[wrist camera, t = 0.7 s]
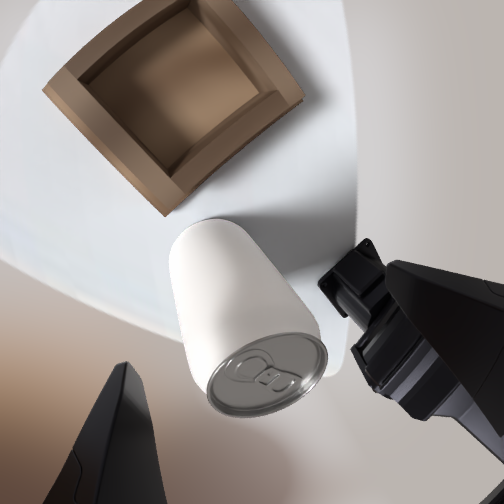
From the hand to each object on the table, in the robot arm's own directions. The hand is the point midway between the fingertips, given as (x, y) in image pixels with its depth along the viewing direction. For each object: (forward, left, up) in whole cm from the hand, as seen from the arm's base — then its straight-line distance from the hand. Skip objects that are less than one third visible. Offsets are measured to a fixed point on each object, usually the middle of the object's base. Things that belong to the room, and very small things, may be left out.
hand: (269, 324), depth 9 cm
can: (-4, +2, -13) cm, 14 cm away
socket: (+7, -4, -13) cm, 15 cm away
